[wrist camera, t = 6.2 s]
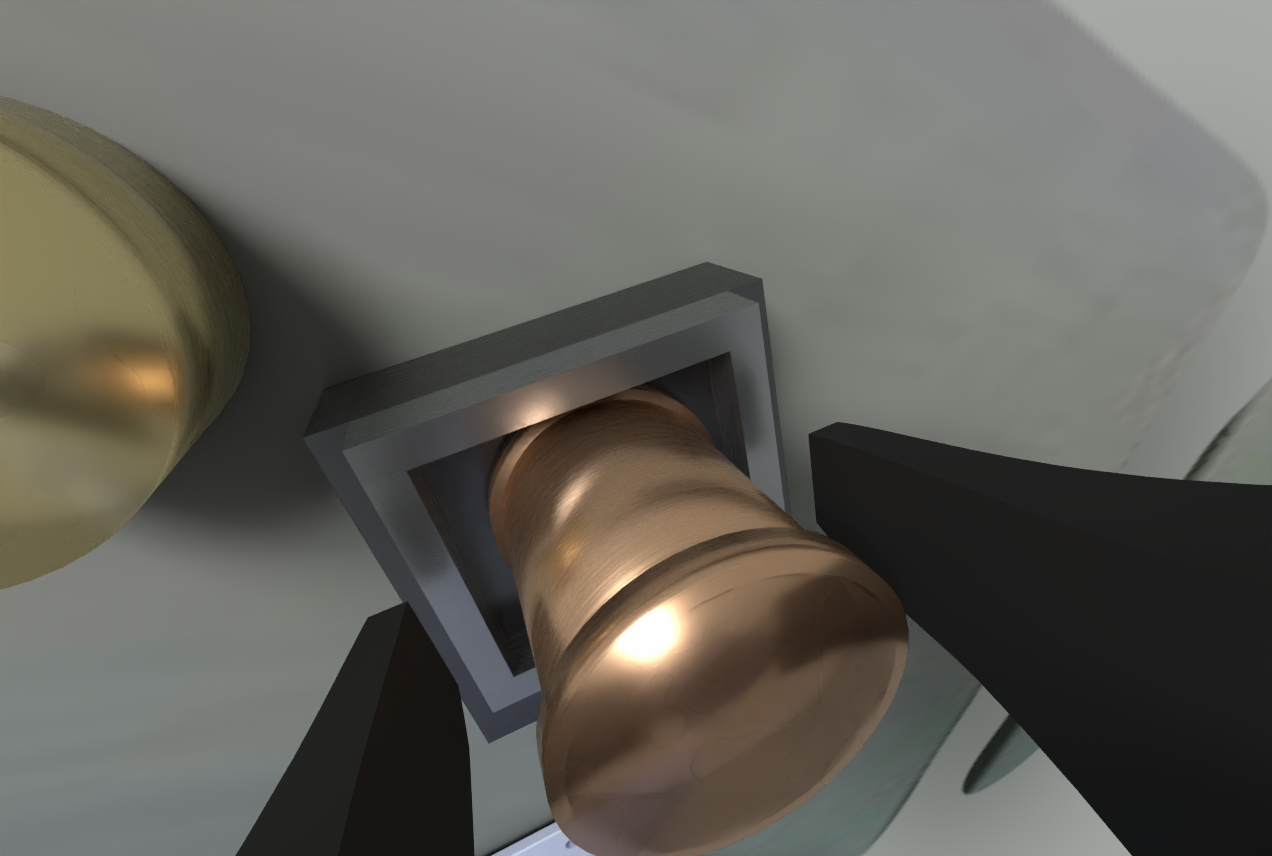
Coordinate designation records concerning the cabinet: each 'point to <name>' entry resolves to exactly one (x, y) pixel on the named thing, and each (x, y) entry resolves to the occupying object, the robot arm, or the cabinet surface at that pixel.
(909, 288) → the cabinet surface
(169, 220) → the gold short rounded piece
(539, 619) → the copper flared cylinder
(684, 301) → the gray square open box
